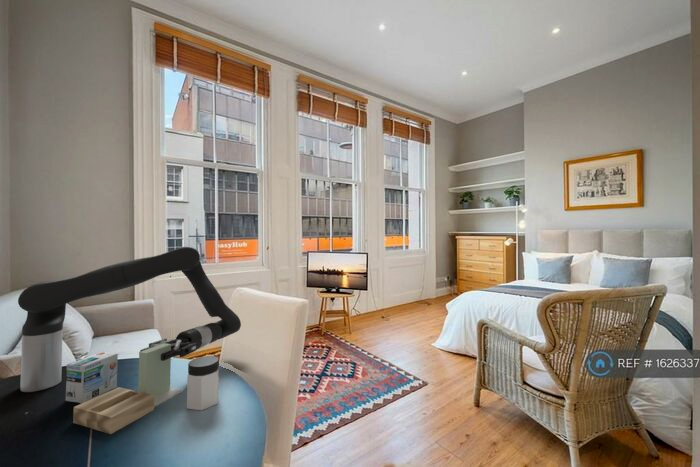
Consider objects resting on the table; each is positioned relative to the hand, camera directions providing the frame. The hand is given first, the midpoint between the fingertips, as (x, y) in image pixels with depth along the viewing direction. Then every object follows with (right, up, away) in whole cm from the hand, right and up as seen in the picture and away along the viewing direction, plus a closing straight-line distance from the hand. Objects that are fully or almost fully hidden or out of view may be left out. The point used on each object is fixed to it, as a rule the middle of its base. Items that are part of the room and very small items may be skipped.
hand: (151, 355), depth 90 cm
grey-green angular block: (0, -12, +1) cm, 12 cm away
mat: (0, -13, +1) cm, 13 cm away
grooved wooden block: (-3, -12, -10) cm, 16 cm away
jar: (+17, -13, -3) cm, 21 cm away
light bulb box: (-19, -13, +2) cm, 23 cm away
